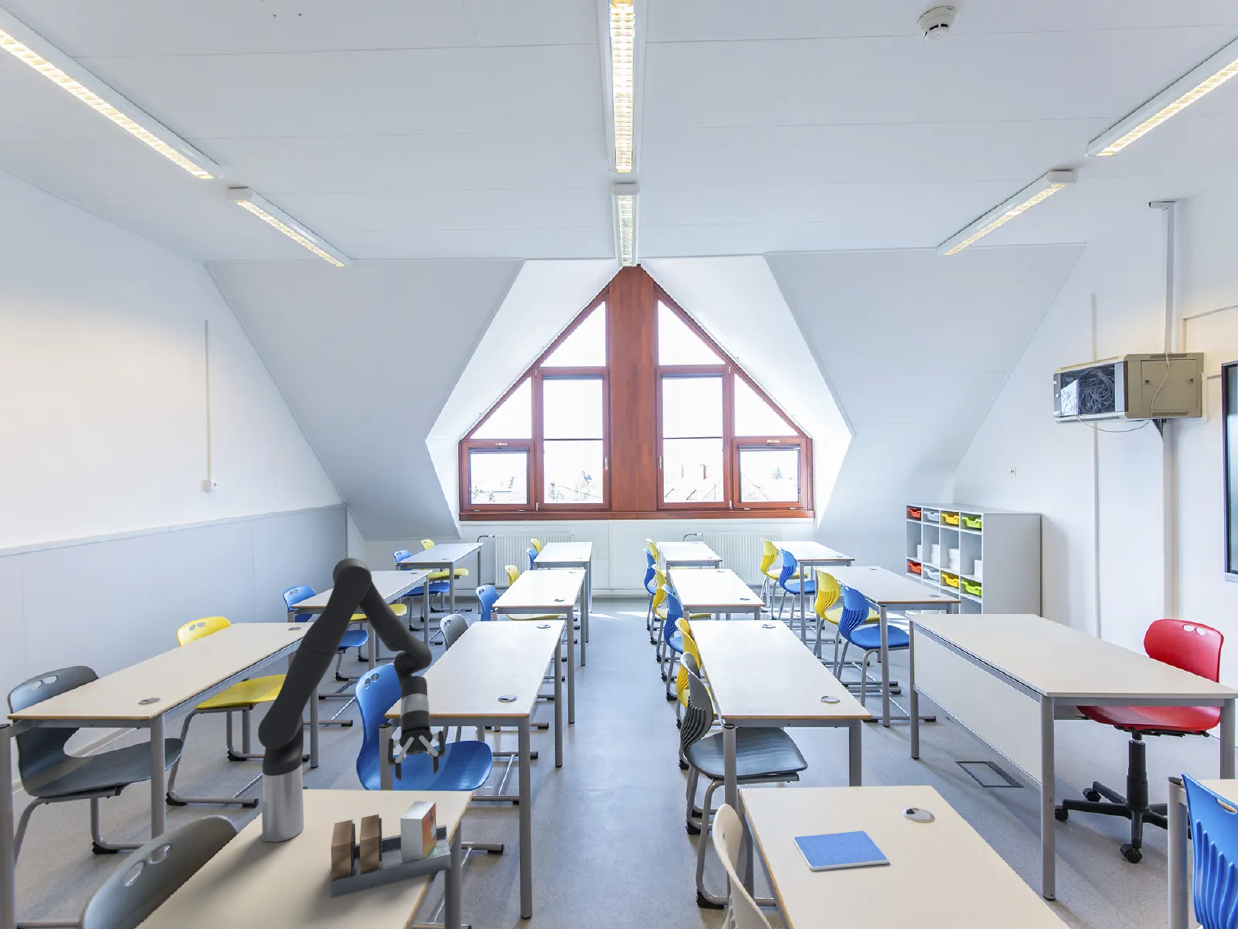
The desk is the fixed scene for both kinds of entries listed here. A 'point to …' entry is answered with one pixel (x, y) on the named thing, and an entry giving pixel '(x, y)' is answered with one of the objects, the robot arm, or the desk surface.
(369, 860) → the twin brown uprights
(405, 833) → the small box
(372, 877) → the grey shallow tray
